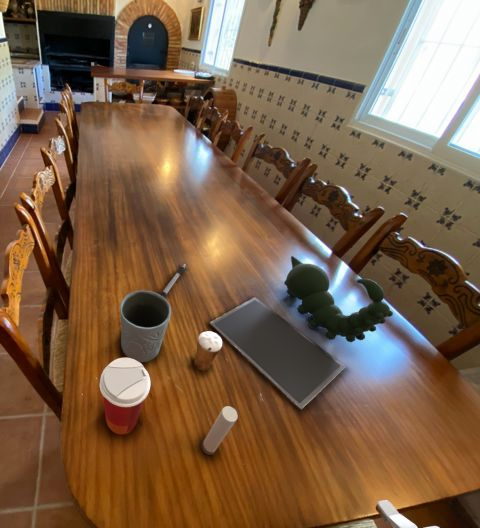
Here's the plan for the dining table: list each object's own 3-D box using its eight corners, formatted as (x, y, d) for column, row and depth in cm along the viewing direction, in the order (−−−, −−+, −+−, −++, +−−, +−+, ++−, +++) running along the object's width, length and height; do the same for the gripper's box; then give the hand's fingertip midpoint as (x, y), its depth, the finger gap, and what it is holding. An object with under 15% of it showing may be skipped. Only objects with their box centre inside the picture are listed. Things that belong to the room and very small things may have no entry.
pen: (158, 298, 77) (159, 294, 76) (183, 264, 88) (183, 261, 87) (163, 300, 76) (164, 296, 76) (187, 266, 88) (188, 262, 87)
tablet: (344, 368, 64) (346, 366, 63) (299, 411, 56) (301, 409, 56) (253, 298, 79) (254, 296, 78) (208, 324, 71) (209, 322, 71)
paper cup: (134, 392, 57) (141, 349, 48) (148, 433, 52) (159, 394, 43) (94, 403, 55) (94, 361, 46) (105, 447, 49) (106, 409, 40)
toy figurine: (356, 351, 70) (291, 275, 87) (418, 302, 56) (327, 223, 73) (324, 359, 68) (264, 279, 84) (380, 309, 54) (296, 226, 71)
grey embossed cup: (128, 371, 60) (132, 335, 53) (110, 333, 67) (112, 296, 60) (171, 355, 64) (181, 319, 56) (150, 321, 71) (156, 284, 63)
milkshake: (187, 372, 61) (198, 343, 55) (192, 351, 65) (202, 322, 58) (209, 380, 60) (223, 352, 54) (213, 359, 64) (226, 330, 57)
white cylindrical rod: (217, 449, 50) (241, 416, 42) (208, 457, 49) (230, 425, 41) (208, 438, 52) (229, 403, 43) (199, 445, 51) (218, 411, 42)
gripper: (498, 650, 27) (371, 485, 40) (421, 699, 37) (337, 553, 49) (559, 635, 28) (414, 476, 40) (467, 687, 37) (372, 545, 49)
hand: (371, 519), depth 45 cm, fingers open, 8 cm apart
